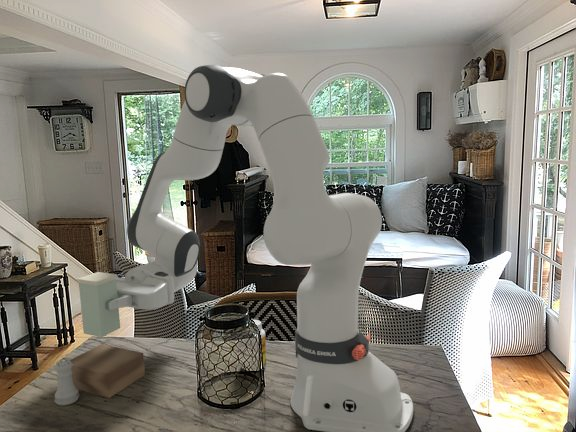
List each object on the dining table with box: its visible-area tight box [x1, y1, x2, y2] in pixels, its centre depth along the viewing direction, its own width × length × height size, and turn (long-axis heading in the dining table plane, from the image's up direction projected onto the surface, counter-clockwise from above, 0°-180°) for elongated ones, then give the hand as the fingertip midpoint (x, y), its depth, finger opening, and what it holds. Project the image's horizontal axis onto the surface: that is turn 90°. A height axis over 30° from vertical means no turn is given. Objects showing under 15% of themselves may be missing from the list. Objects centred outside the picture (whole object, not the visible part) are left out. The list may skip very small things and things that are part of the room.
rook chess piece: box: [54, 358, 80, 407], centre depth 91 cm, size 4×4×8 cm
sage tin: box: [76, 271, 121, 338], centre depth 96 cm, size 5×5×12 cm
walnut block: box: [70, 343, 146, 399], centre depth 99 cm, size 12×10×5 cm
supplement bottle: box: [252, 319, 267, 369], centre depth 102 cm, size 6×6×10 cm
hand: (96, 304), depth 96 cm, fingers closed on sage tin, 5 cm apart
